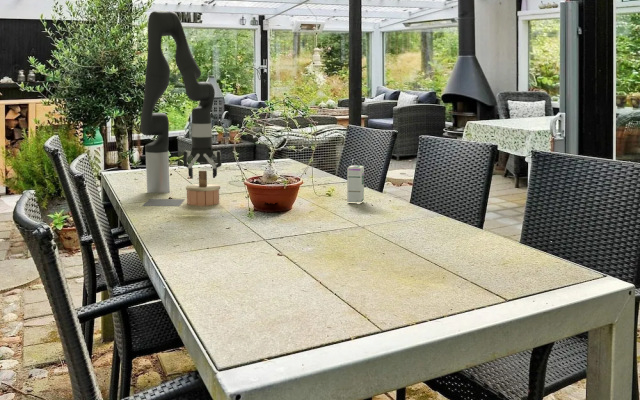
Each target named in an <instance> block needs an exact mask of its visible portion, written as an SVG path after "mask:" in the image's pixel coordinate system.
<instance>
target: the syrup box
mask: <svg viewBox="0 0 640 400" xmlns="http://www.w3.org/2000/svg"><path fill="white" fill-rule="evenodd" d="M346 170H347V171H346V172H347V174H346V175H347V177H346V180H347V186H346V188H347V190H346V191H347V192H346V193H347V195H346V196H347V201H346V202H362V201H363V200H364V201H365V194H364V193H365V166H364V165H350V166H348V167H347V169H346Z"/></svg>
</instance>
